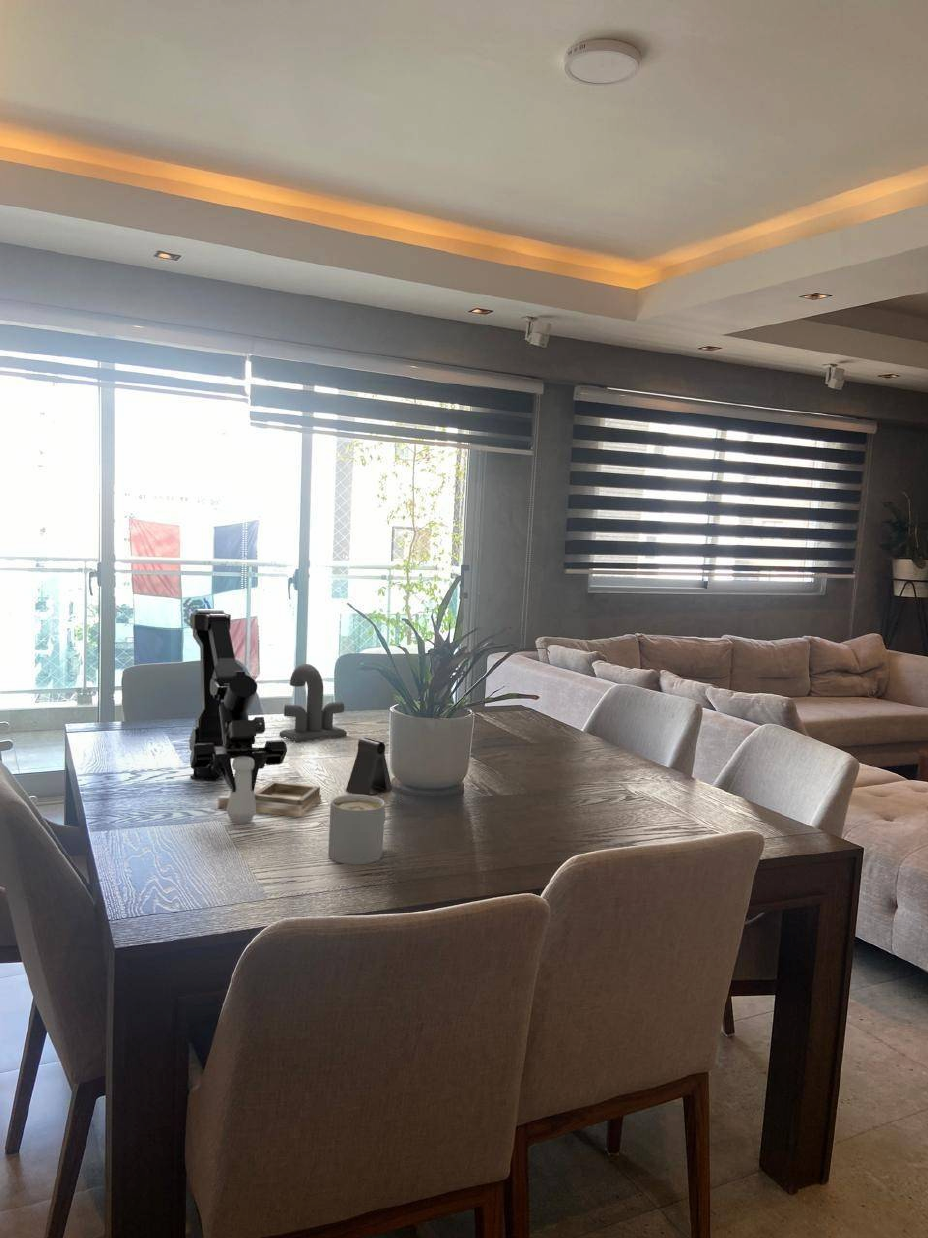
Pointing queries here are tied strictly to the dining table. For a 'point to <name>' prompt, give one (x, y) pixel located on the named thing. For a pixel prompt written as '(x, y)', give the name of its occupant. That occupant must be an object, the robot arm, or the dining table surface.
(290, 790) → the wooden tray
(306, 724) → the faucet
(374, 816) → the coffee mug
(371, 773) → the dark brown phone stand
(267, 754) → the robot arm
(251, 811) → the salt shaker
